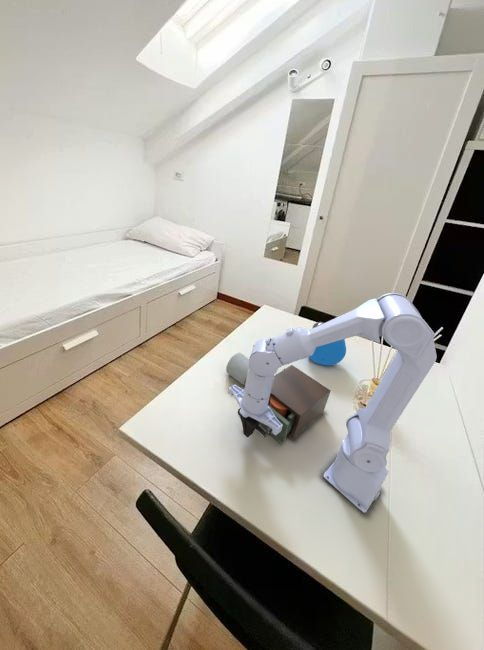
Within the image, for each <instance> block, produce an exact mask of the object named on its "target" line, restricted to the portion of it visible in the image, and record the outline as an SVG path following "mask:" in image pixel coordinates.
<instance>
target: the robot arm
mask: <svg viewBox="0 0 484 650" xmlns="http://www.w3.org/2000/svg"><path fill="white" fill-rule="evenodd" d="M323 323H324V324H321V325H319V326H317V327H315V328H313V329H312V328H310V329H306V328H304V327H297V328H293V327H290V328H287V329H286V331H285V333H282V334H279V335H277V336H274V337H272V338H271V337H267V338H261V339H258V340H257V341H256V342H255V343H254V344H253V345H252V350H251V352H250V356H249V358H248V359H249V369H248V373H247V378H246V383H245V385H244V389H243V388H241V387H240V386H238V385H237V384H233V385H232V386H230V387H229V388H228V393H227V394H228V395H229V396H231V397H234V399H235V400H236V402H237V404H238V406H239V407H240V408H238V409H237V415H238V417H239V420H240V422H241V427H242V431H243V432H242V434H243V435H244V436H245V437H246V438H250V437H251V436H252V435H253V434H254V433H255V430H256V427H257V426H258V425H259V424H260V423H263V424H265V425H267V426H269V427H270V428H271V429H272V433H273V434H274V435H275V436H276V435H277V434H278V433H279V432H281V430H282V426H283V424H281V423H280V422H279V421H278V419H277V418H276V417H275V415H274V414H273V412H272V411H271V409H270V408H269V406H268V402H269V398H270V394H271V389H272V385H273V381H274V376H275V375H276V374H277V373H278V370H279V368H282V366H286V365H288V364H292V363H295V362H298V361H300V360H303V359H306V358H309V356H312V355H313V353H314V351H315V349H316V347H318V346H322V345H325V344H329V343H332V342H336V341H339V340H343V339H345V340H346V339H350V338H354V337H356V336H361V337H363V338H366V339H368V340H370V341H372V342H374V343H377V344H380V343H381V340H380V339H381V338H380V337H382V338H383V340H384V341H385V342H386V344H388V345H389V346H390V347H392V348H393V349H394V350H396V353H395V355H394V356H393V358H392V360H391V362H390V363H389V365H388V367H387V369H386V370H385V372H384V373H383V376H382V377H381V379H380V381H379V383H378V384H377V386H376V388H375V390H374V391H373V393H372V395H371V396H370V398H369V400H368V402H367V404H366V406H365V408H364V407H359V408H357V411H356V412H355V413H354V414H352V415H350V416H348V418H347V419H346V422H345V426H346V429H347V435H346V436H345V437H344V439H343V440H342V442H341V445H340V447H339V450H338V452H337V454H336V457H335V460H334V461H333V463H332V464H331V465H330V466H329V467H328V468H327V470H326V471H325V472H324V473H323V475H322V477H323V478H324V479H325V481H327V482H328V483H329V484H331V486H333V487H334V488H335V489H336V490H337V491H338V492H340V493H341V494H342V495H343V496H344V497H345V498H346V499H347V500H348V501H349V502H351V504H353V505H354V506H355V507H356V508H357V509H359V511H361V512H362V513H364V514H366V513H367V511H368V510H369V509H370V507H371V505H372V504H373V502H374V501H376V500H377V499H378V497H379V496H380V493H381V492H380V491H381V488H382V486H383V485H384V483H385V481H386V479H387V477H388V475H389V473H390V471H389V470H388V469H387V468H386V466H387V463H388V461H387V455H388V454H389V452H390V448H391V431H392V429H393V428H394V426H395V425H396V423H397V422H398V420H399V419H400V417H401V416H402V415H403V412H404V411H405V410H406V408H407V407H408V405H409V403H410V401H411V400H412V398H413V397H414V395H415V394H416V392H417V391H418V389H419V388H420V386H421V385H422V383H423V382H424V380H425V379H426V377H427V376H428V374H429V372H430V371H431V369H432V368H433V366H434V365H435V363H436V361H437V358H438V357H437V351H436V346H435V340H434V337H435V335H436V334H435V332H434V330H432V328H431V327H430V326H429V324H428V323H427V322H426V321H425V319H423V317H422V315H421V313H420V311H419V309H417V308H416V306H415V305H414V304H413V302H412V301H411V299H410V298H409V297H407V296H406V295H404V294H402V293H398V292H387V293H385V294H382V295H380V296H379V297H376V298H372V299H368V300H367V301H365V302H364V303H362V304H361V305H359V306H358V307H356V308H354V309H352V310H349V311H348V312H346V313H344V314H341V315H339V316H336V317H334V318H333V319H330V320H328V321H326V322H323Z"/></svg>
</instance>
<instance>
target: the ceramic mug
mask: <svg viewBox="0 0 484 650" xmlns="http://www.w3.org/2000/svg"><path fill="white" fill-rule="evenodd" d="M248 369H249V358H248V357H247V356H246V355H245V354H243V353H242V352H237V353H235V354H233V355H232V357H230V359H229V361H228V362H227V364H226V368H225V371H226V374H228V375H229V376H231V377H232V378H233V379H235V380H236V381H237V382H239V383H240V384H241V385H243V386H245V383H246V378H247V373H248Z"/></svg>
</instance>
